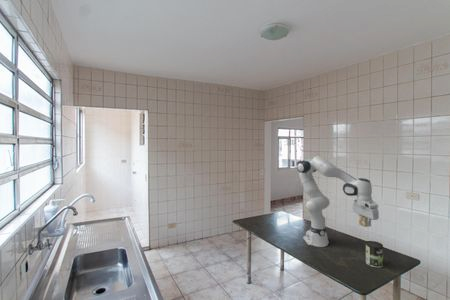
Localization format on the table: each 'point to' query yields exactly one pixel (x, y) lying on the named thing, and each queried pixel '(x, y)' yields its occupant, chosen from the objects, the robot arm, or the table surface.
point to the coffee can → (374, 254)
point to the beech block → (363, 221)
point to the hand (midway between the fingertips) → (365, 222)
